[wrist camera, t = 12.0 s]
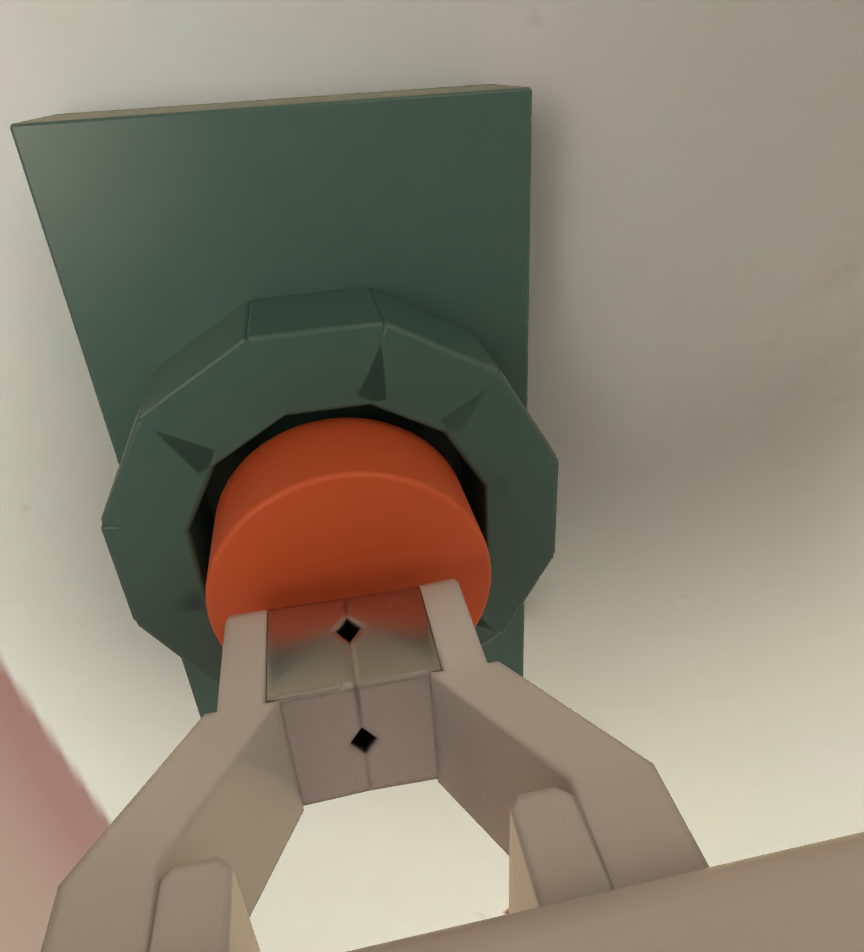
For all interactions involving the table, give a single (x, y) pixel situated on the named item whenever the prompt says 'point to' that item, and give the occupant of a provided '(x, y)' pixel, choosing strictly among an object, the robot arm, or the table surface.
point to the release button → (341, 522)
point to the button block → (298, 314)
